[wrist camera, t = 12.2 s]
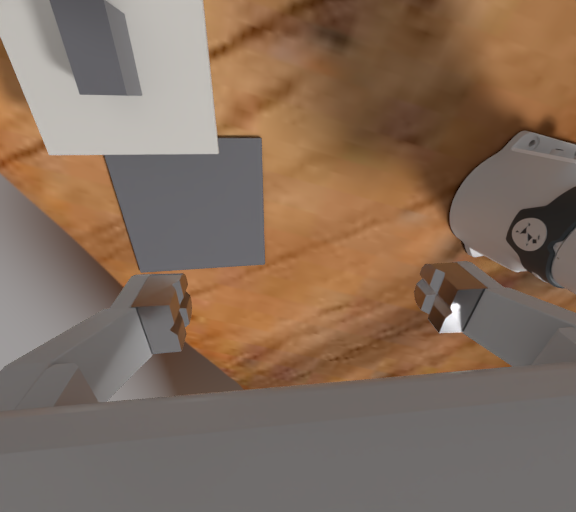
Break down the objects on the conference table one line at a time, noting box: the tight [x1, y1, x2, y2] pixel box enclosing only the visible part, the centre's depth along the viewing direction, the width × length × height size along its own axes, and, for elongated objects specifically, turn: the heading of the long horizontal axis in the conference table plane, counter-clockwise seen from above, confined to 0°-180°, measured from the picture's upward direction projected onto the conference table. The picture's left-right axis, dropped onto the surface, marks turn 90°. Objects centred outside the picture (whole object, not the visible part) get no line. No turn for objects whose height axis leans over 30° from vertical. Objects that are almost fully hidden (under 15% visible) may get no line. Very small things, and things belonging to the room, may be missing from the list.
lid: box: [0, 0, 219, 155], centre depth 19 cm, size 14×14×4 cm
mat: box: [104, 138, 265, 272], centre depth 34 cm, size 17×17×1 cm
